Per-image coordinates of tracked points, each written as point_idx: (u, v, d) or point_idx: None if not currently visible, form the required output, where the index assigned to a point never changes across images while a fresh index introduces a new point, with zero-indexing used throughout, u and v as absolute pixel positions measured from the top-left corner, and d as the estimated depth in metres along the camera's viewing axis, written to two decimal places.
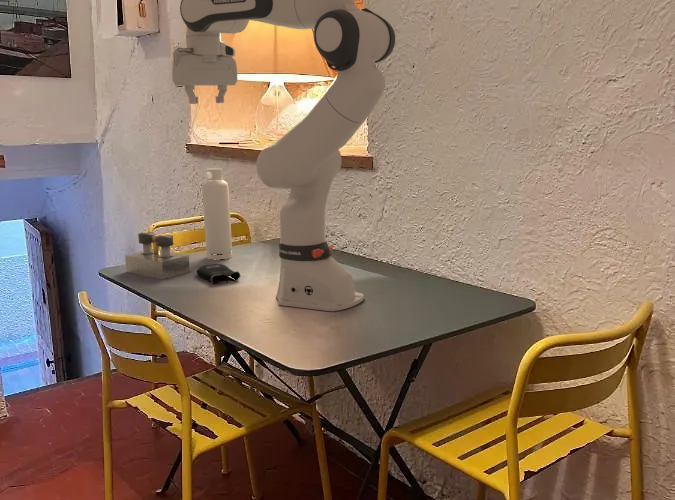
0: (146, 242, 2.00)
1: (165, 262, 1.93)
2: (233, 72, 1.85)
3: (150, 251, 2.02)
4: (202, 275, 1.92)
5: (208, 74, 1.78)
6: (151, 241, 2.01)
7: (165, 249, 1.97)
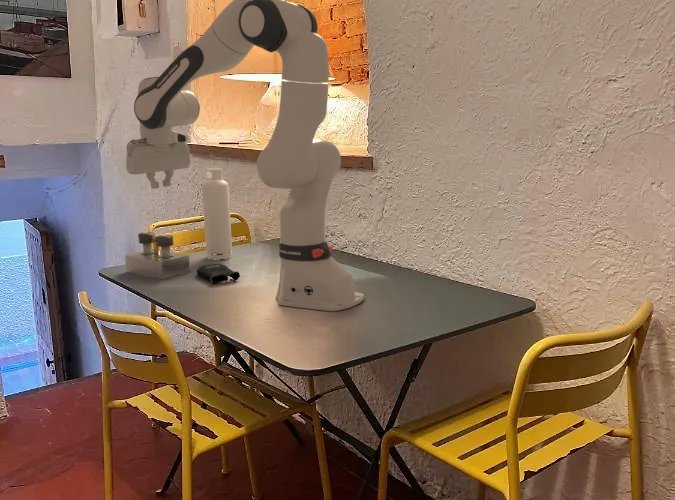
0: (146, 242, 2.00)
1: (165, 262, 1.93)
2: (186, 156, 1.98)
3: (150, 251, 2.02)
4: (202, 275, 1.92)
5: (161, 161, 1.91)
6: (151, 241, 2.01)
7: (165, 249, 1.97)
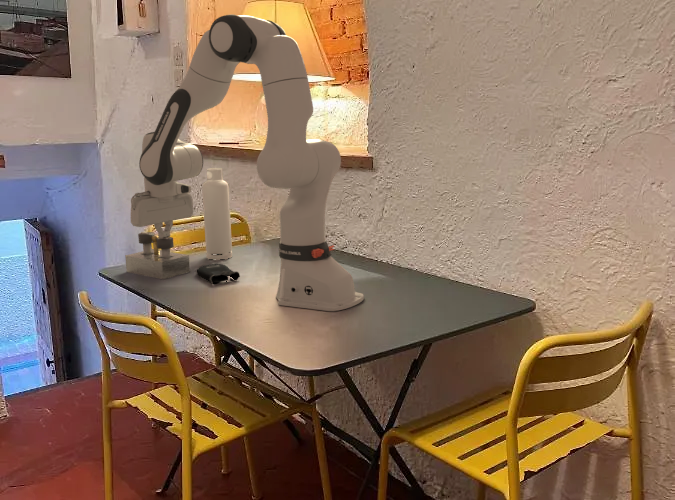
0: (146, 242, 2.00)
1: (165, 262, 1.93)
2: (189, 206, 2.01)
3: (150, 251, 2.02)
4: (202, 275, 1.92)
5: (164, 212, 1.94)
6: (151, 241, 2.01)
7: (165, 251, 1.97)
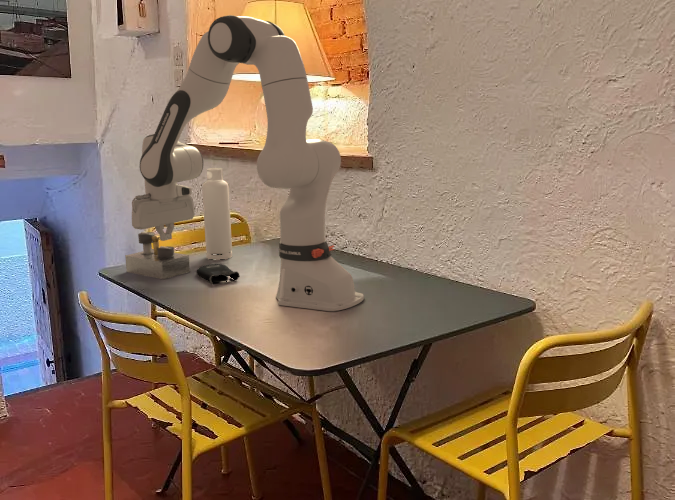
0: (146, 242, 2.00)
1: (165, 262, 1.93)
2: (190, 208, 2.01)
3: (150, 251, 2.02)
4: (202, 275, 1.92)
5: (165, 215, 1.94)
6: (151, 241, 2.01)
7: None
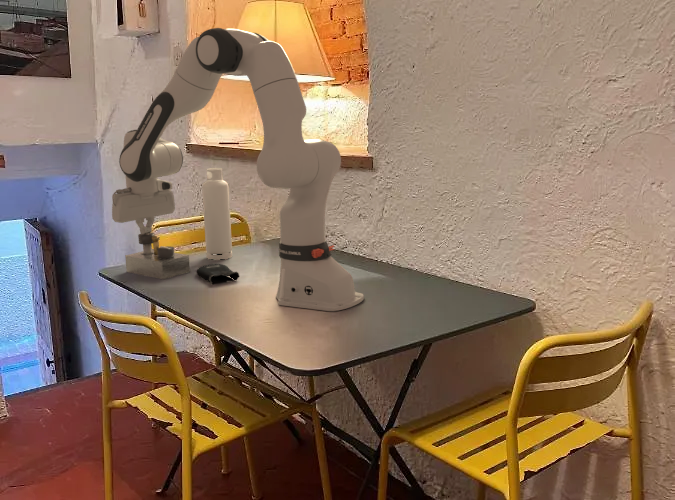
0: (146, 243, 2.00)
1: (165, 262, 1.93)
2: (170, 202, 2.05)
3: (150, 252, 2.02)
4: (201, 275, 1.92)
5: (146, 209, 1.98)
6: (151, 242, 2.01)
7: None
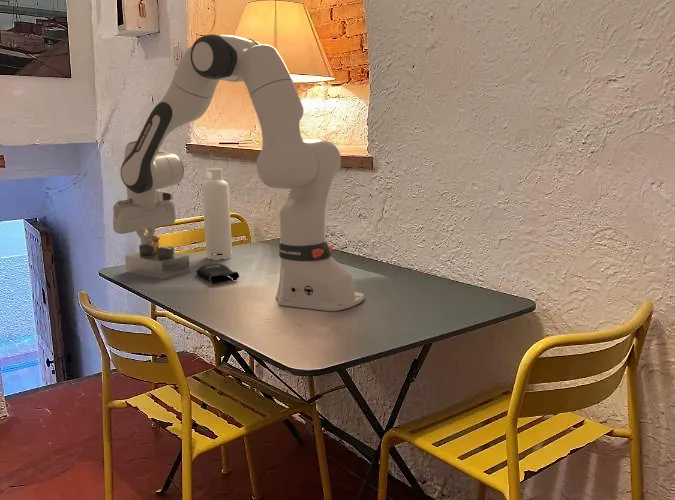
0: (147, 253, 2.01)
1: (165, 262, 1.93)
2: (171, 213, 2.06)
3: None
4: (201, 275, 1.92)
5: (146, 219, 1.99)
6: (152, 252, 2.01)
7: None
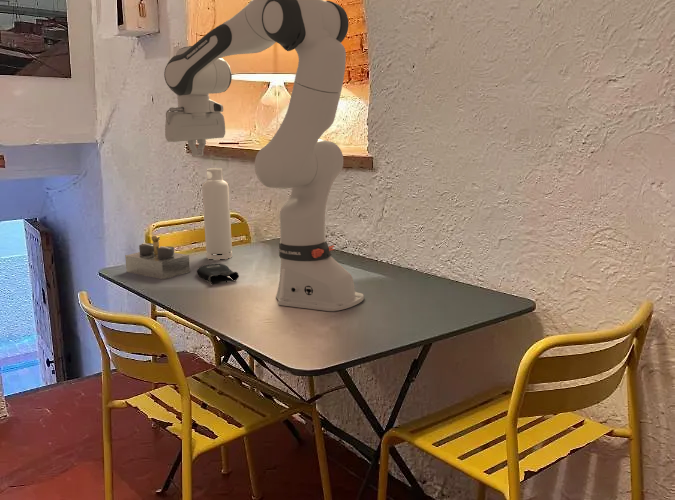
0: (147, 253, 2.01)
1: (165, 262, 1.93)
2: (221, 126, 2.01)
3: None
4: (201, 275, 1.92)
5: (198, 130, 1.94)
6: (152, 252, 2.01)
7: None
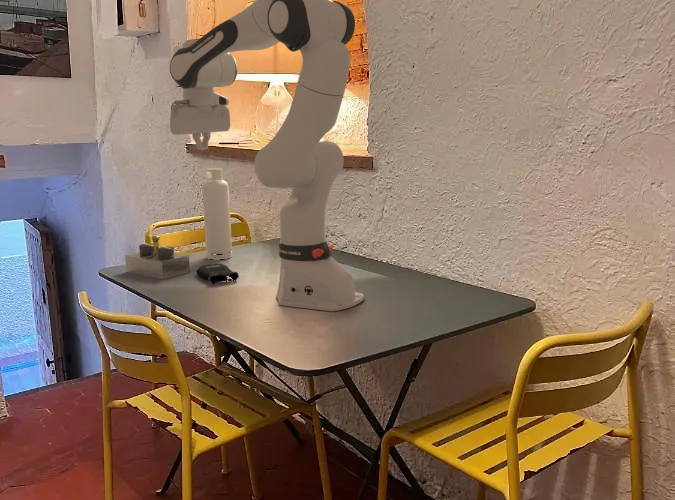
0: (147, 253, 2.01)
1: (165, 262, 1.93)
2: (226, 119, 2.01)
3: None
4: (201, 275, 1.92)
5: (203, 123, 1.94)
6: (152, 252, 2.01)
7: None
